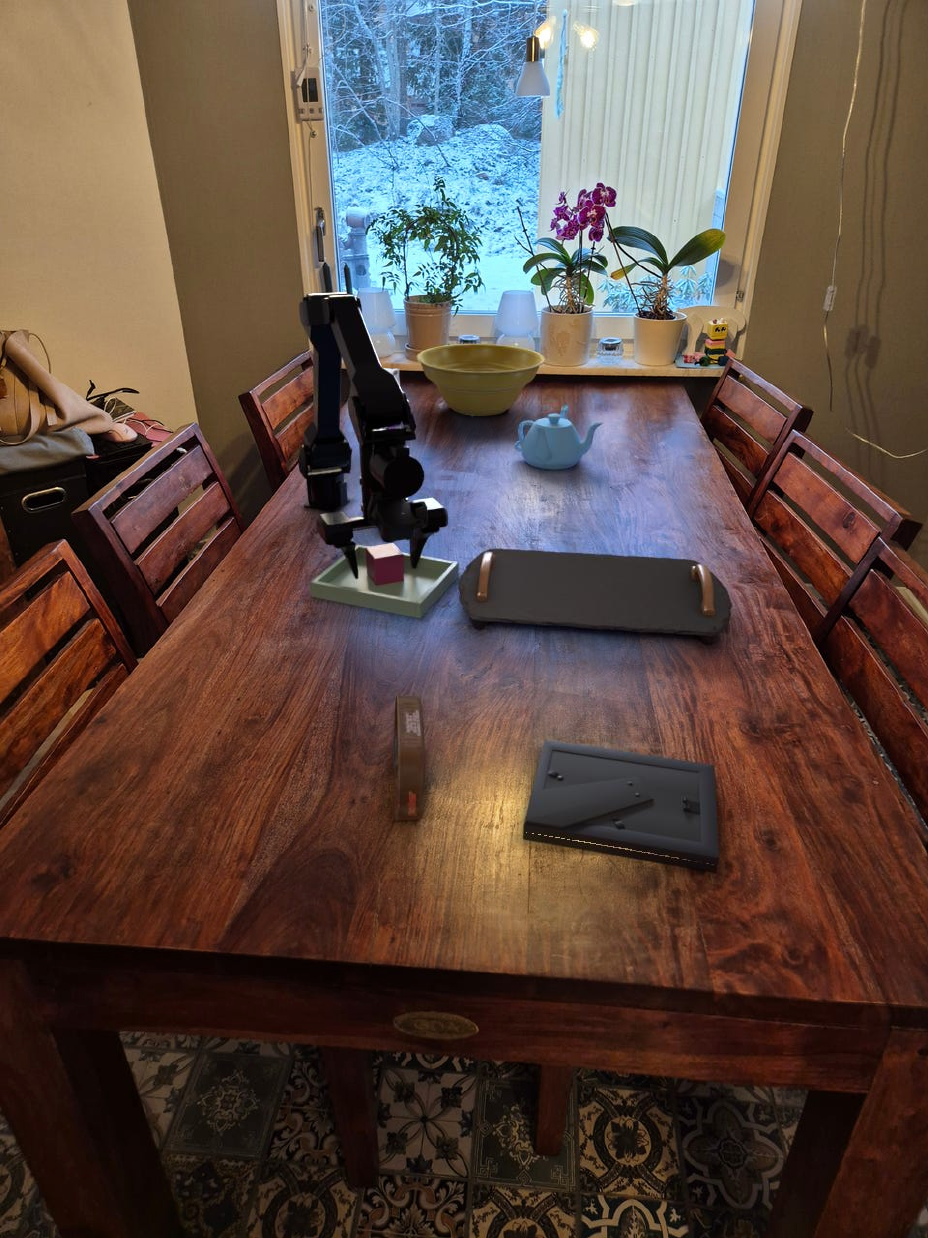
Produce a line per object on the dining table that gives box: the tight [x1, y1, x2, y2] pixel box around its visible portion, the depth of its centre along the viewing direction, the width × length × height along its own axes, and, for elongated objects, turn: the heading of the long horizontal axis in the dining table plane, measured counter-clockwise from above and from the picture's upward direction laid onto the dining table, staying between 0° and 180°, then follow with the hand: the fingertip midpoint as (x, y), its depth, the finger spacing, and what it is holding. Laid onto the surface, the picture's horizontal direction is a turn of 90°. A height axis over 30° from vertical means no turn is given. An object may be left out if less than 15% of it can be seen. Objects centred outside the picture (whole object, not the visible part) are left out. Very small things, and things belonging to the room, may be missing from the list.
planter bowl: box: [415, 343, 545, 417], centre depth 208 cm, size 32×32×13 cm
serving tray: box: [457, 548, 733, 646], centre depth 117 cm, size 39×23×6 cm, turn 83°
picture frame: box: [522, 739, 720, 873], centre depth 81 cm, size 13×2×18 cm
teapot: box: [514, 404, 604, 470], centre depth 173 cm, size 15×15×10 cm
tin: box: [392, 693, 426, 822], centre depth 82 cm, size 15×3×8 cm, turn 5°
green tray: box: [309, 544, 460, 620], centre depth 123 cm, size 18×15×2 cm
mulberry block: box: [366, 542, 404, 586], centre depth 123 cm, size 4×4×4 cm
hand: (385, 572), depth 124 cm, fingers open, 9 cm apart
